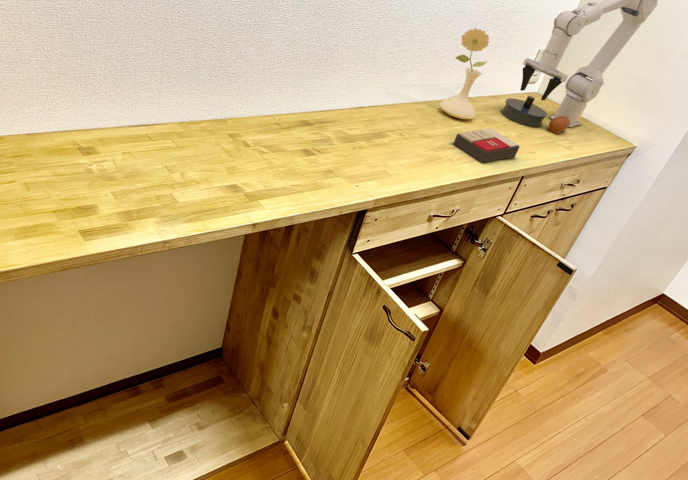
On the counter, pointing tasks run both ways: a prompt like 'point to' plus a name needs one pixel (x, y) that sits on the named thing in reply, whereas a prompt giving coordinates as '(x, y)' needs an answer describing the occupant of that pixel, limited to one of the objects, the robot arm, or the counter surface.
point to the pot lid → (526, 107)
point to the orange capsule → (558, 124)
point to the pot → (521, 117)
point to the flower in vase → (460, 102)
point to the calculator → (486, 145)
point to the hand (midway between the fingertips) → (532, 94)
